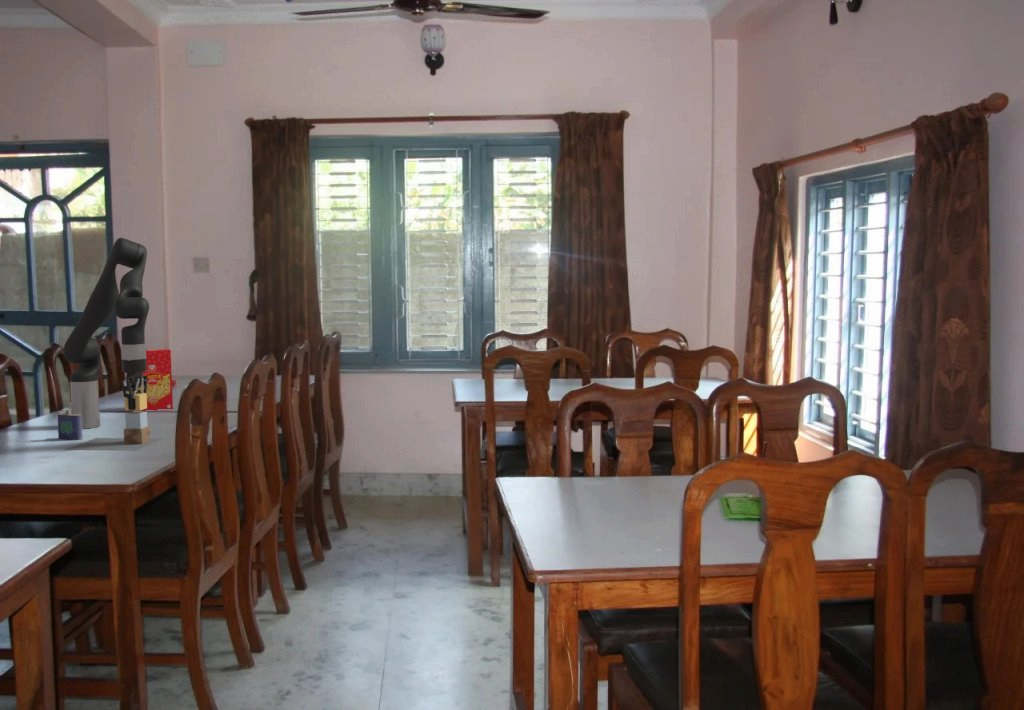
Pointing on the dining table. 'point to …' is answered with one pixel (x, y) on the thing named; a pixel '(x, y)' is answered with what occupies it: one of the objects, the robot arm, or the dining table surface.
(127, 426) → the tower mid
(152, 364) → the food packaging
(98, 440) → the slate mat
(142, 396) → the ochre block
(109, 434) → the dining table surface
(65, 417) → the flask
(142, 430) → the tower base
